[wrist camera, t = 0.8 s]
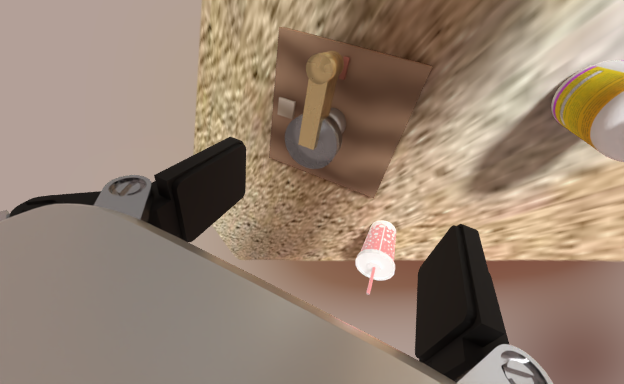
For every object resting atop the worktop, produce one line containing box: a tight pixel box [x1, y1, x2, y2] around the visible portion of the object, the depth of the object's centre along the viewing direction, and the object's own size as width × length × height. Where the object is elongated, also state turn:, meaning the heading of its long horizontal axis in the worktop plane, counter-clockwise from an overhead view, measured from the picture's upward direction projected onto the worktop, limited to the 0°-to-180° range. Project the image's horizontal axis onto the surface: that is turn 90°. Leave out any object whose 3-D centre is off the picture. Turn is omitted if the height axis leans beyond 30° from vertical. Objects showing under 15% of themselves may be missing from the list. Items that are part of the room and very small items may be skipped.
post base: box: [269, 27, 432, 198], centre depth 34 cm, size 20×20×7 cm
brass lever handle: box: [285, 51, 344, 169], centre depth 27 cm, size 13×7×4 cm, turn 168°
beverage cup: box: [356, 220, 396, 295], centre depth 39 cm, size 6×6×14 cm
